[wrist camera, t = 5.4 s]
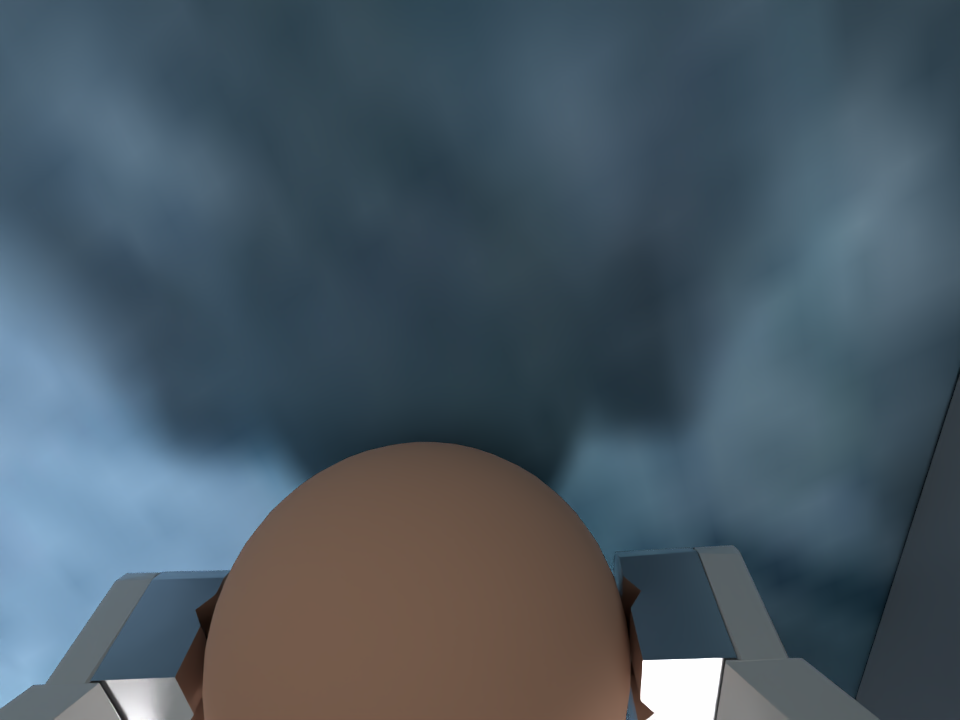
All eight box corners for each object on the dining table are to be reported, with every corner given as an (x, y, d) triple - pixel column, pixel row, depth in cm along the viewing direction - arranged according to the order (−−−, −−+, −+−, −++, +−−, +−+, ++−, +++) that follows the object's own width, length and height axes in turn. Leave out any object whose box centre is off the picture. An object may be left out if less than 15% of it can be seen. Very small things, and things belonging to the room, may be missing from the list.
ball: (317, 620, 11) (204, 1003, 7) (244, 381, 9) (-2, 736, 5) (597, 608, 11) (665, 1002, 7) (598, 357, 9) (705, 713, 4)
